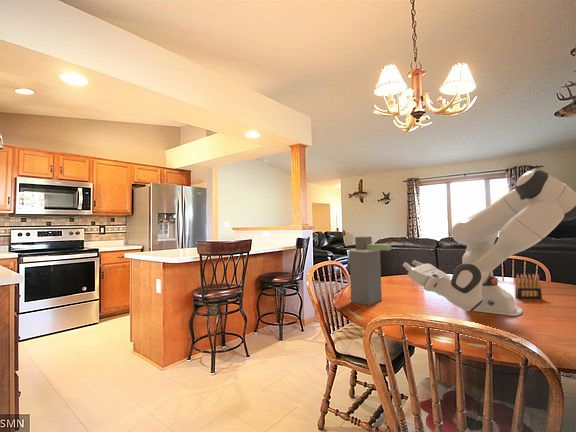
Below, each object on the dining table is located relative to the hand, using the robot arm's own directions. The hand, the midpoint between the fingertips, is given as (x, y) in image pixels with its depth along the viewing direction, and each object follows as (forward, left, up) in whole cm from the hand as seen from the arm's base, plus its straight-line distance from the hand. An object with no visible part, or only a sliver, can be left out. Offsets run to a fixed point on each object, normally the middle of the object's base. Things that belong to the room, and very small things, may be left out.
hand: (408, 262), depth 131 cm
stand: (+22, 0, -21) cm, 30 cm away
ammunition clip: (-34, -55, -21) cm, 68 cm away
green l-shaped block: (+17, 0, +5) cm, 18 cm away
